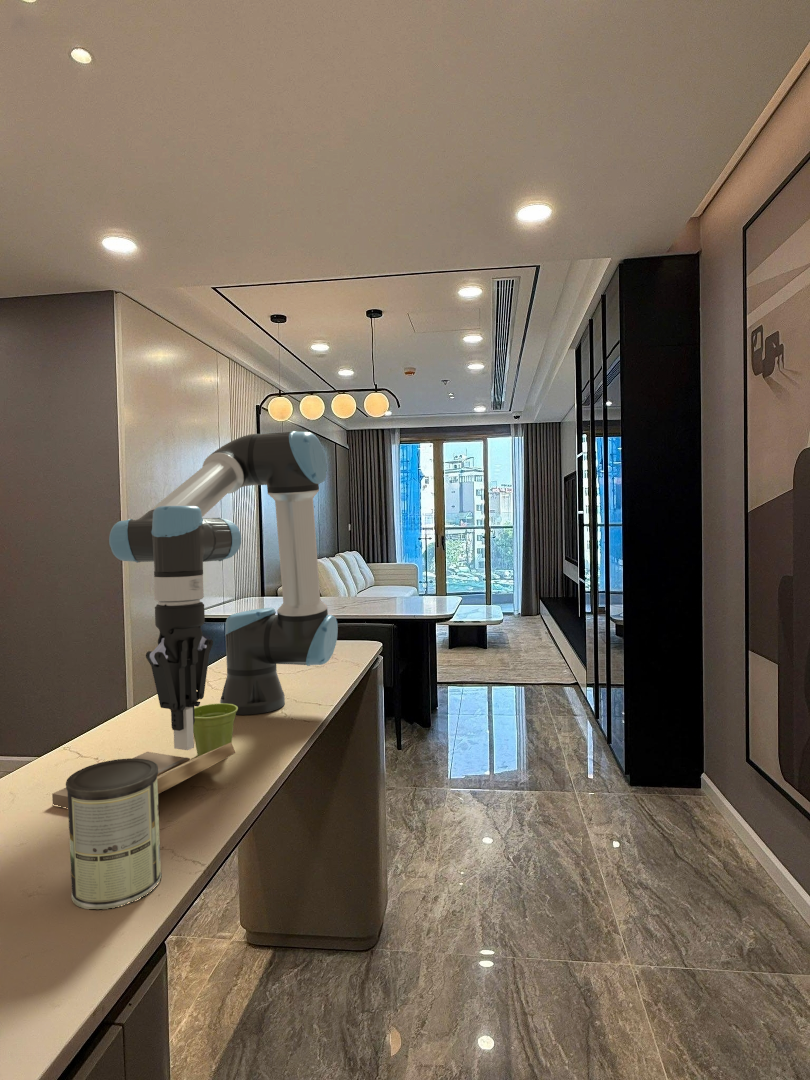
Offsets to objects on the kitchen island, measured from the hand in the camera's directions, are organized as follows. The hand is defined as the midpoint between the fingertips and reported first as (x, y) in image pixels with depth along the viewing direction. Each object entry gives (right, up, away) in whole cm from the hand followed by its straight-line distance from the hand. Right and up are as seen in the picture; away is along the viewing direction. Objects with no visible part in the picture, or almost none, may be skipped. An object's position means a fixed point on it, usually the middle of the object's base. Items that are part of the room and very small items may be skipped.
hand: (184, 747), depth 106 cm
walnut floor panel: (-12, -8, +6) cm, 15 cm away
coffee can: (0, -9, -25) cm, 27 cm away
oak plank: (-2, -6, +1) cm, 7 cm away
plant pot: (-1, -8, +20) cm, 21 cm away
